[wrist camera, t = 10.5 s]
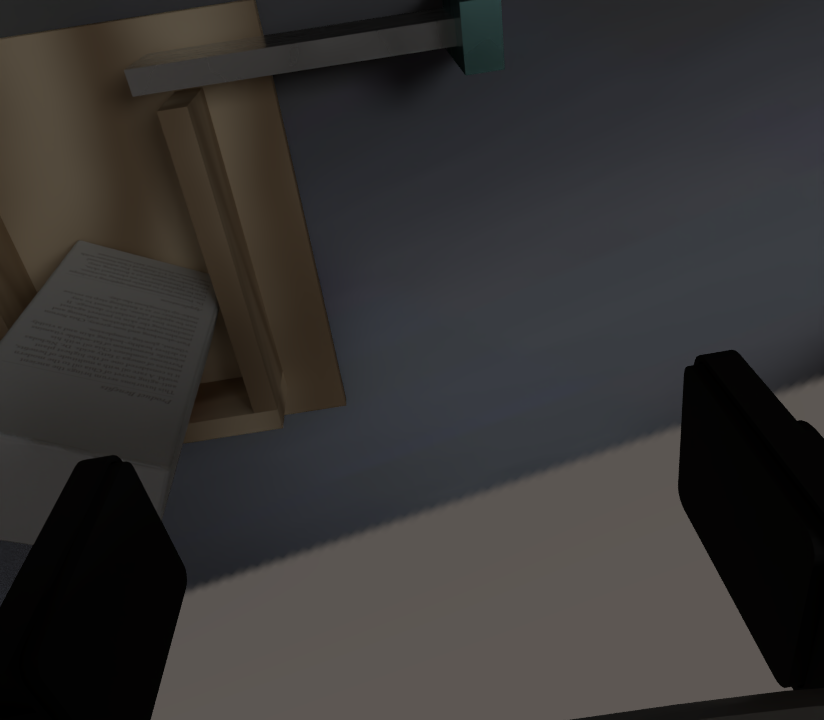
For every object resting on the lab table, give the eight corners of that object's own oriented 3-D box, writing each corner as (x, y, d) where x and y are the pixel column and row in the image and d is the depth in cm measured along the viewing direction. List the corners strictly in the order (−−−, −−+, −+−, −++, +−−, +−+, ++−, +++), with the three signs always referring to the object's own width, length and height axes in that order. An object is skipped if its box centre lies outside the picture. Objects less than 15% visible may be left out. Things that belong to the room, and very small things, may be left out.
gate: (475, -18, 24) (500, -5, 20) (479, 45, 25) (504, 69, 21) (140, 35, 24) (102, 58, 20) (159, 95, 25) (127, 128, 21)
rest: (254, -2, 24) (242, 9, 21) (346, 399, 34) (346, 445, 31) (-143, 60, 24) (-210, 80, 21) (61, 443, 34) (34, 494, 31)
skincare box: (68, 324, 30) (-71, 534, 20) (78, 235, 28) (-72, 419, 18) (212, 358, 31) (150, 569, 21) (231, 276, 29) (172, 466, 19)
